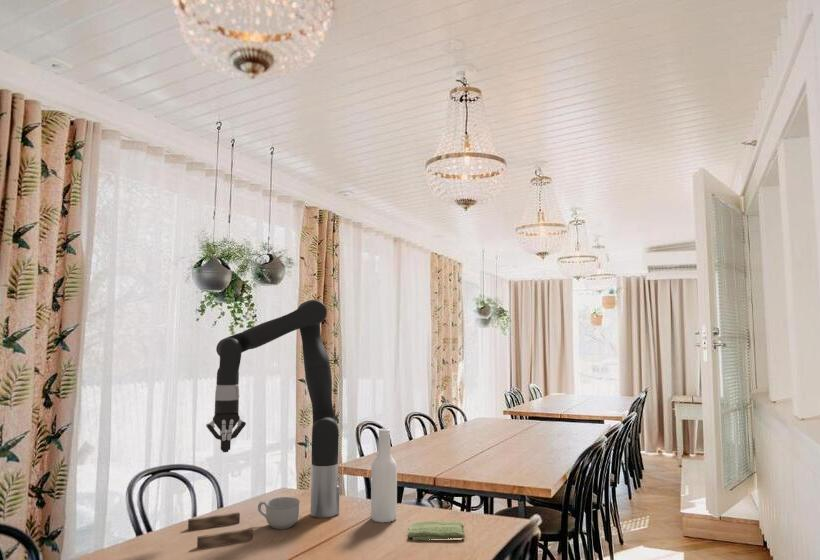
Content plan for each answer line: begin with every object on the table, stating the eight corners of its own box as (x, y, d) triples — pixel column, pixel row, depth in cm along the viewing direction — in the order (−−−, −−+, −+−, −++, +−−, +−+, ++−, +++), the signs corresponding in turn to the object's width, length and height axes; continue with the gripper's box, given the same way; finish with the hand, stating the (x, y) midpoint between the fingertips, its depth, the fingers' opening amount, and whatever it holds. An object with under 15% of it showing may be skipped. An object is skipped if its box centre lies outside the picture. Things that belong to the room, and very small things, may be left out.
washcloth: (409, 528, 186) (409, 518, 187) (463, 529, 186) (463, 519, 186) (407, 542, 173) (407, 531, 174) (465, 543, 173) (465, 532, 173)
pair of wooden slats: (238, 521, 192) (238, 512, 192) (253, 539, 175) (253, 529, 175) (187, 529, 184) (188, 519, 185) (197, 548, 167) (198, 538, 167)
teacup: (305, 523, 190) (305, 498, 191) (286, 533, 180) (286, 507, 181) (270, 518, 195) (271, 494, 196) (250, 528, 185) (250, 502, 186)
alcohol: (381, 524, 189) (381, 432, 192) (365, 518, 195) (366, 428, 199) (402, 519, 194) (402, 429, 197) (386, 513, 201) (387, 426, 204)
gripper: (244, 396, 196) (242, 448, 194) (204, 398, 190) (202, 452, 188) (250, 398, 190) (248, 451, 188) (208, 400, 183) (206, 455, 181)
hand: (225, 451), depth 188 cm, fingers closed
